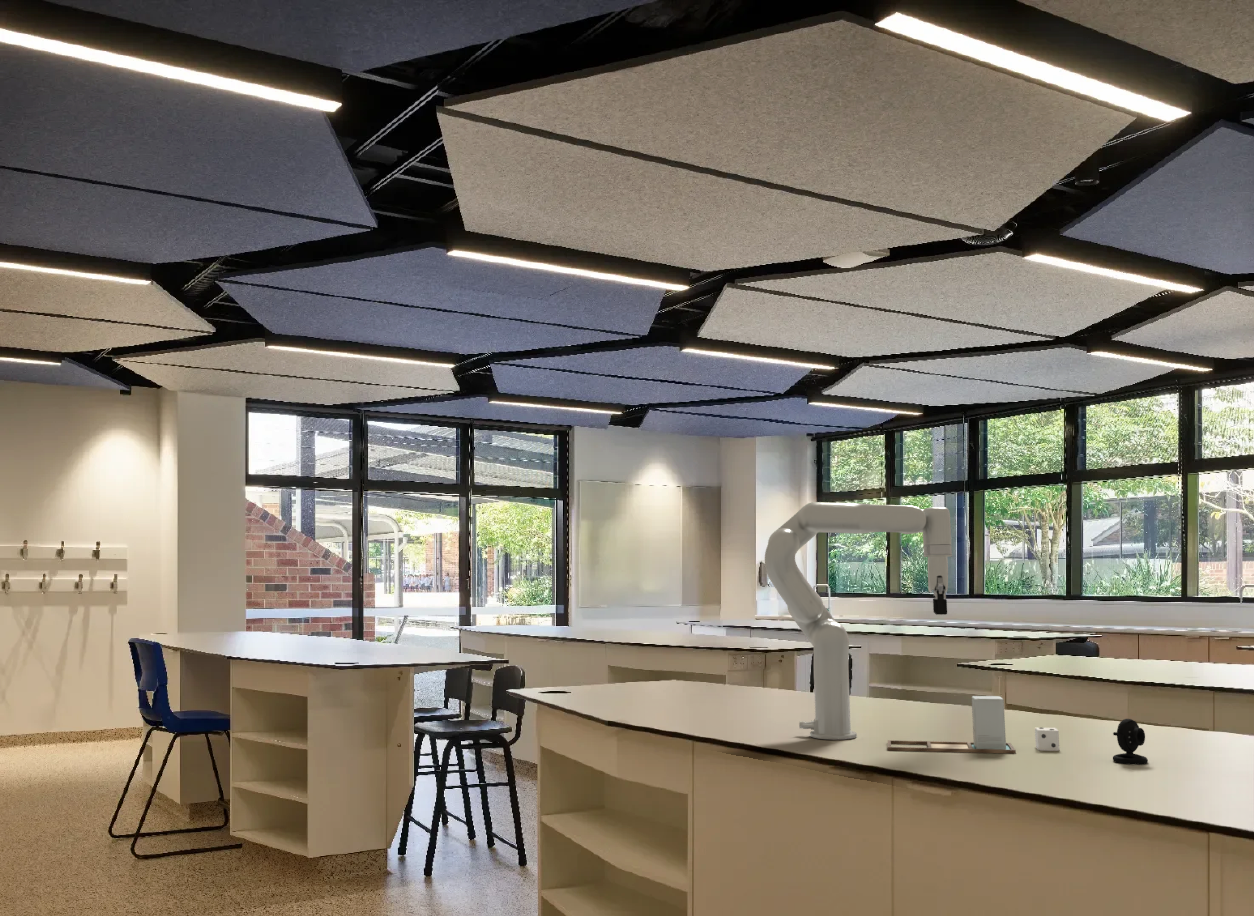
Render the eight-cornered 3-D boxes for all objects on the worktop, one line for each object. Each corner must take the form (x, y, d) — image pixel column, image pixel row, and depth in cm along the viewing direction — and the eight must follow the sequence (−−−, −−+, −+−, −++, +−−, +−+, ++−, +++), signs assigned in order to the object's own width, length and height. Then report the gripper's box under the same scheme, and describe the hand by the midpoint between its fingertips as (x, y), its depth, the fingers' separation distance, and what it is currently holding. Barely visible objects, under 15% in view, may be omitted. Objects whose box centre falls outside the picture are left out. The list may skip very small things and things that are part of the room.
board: (887, 750, 275) (887, 747, 275) (887, 743, 286) (887, 740, 286) (1015, 753, 268) (1015, 750, 268) (1010, 746, 279) (1010, 742, 279)
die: (1038, 750, 273) (1037, 729, 273) (1035, 747, 277) (1034, 726, 278) (1059, 751, 271) (1058, 730, 272) (1056, 747, 276) (1055, 727, 277)
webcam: (1136, 766, 249) (1134, 721, 250) (1106, 761, 255) (1103, 718, 256) (1154, 762, 254) (1151, 718, 255) (1124, 758, 260) (1121, 715, 261)
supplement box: (1006, 750, 271) (1004, 698, 272) (975, 749, 272) (973, 698, 274) (1003, 745, 278) (1001, 695, 279) (973, 745, 280) (971, 695, 281)
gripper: (922, 552, 311) (925, 612, 309) (924, 551, 294) (927, 615, 292) (949, 551, 309) (952, 612, 307) (953, 550, 293) (956, 614, 291)
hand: (940, 613), depth 300 cm, fingers open, 9 cm apart
